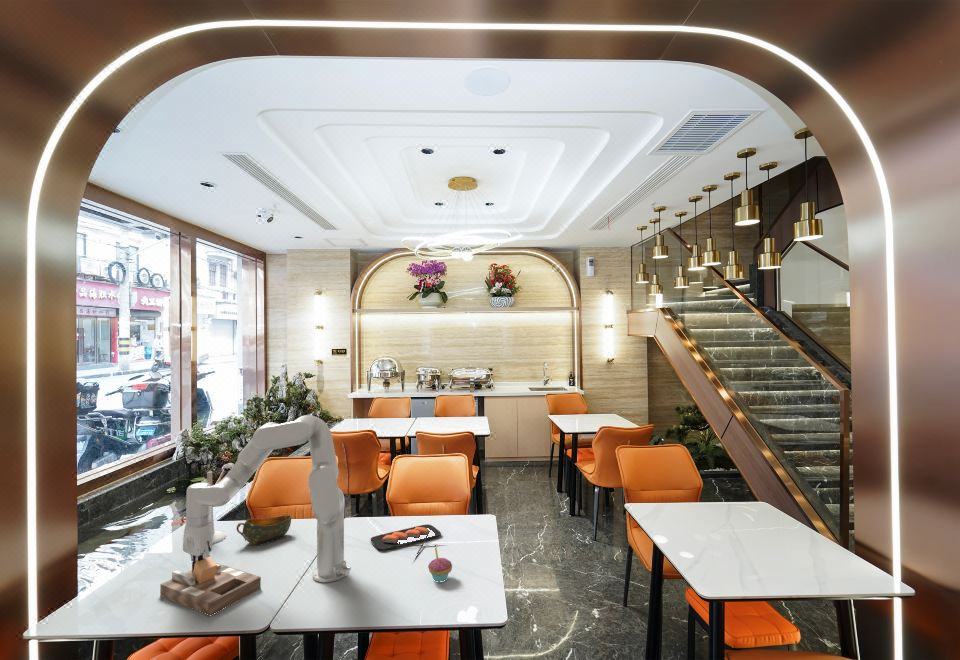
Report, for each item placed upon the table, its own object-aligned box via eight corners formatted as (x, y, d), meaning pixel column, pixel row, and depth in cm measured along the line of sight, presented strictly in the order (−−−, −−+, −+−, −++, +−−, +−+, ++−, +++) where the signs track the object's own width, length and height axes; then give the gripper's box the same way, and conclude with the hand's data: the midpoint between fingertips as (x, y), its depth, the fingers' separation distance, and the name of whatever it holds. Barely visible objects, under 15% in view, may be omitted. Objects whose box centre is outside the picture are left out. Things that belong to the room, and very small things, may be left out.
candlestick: (206, 532, 208) (207, 466, 209) (232, 534, 206) (232, 467, 207) (184, 545, 195) (185, 474, 196) (212, 546, 194) (212, 475, 194)
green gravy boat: (245, 535, 204) (245, 512, 204) (292, 532, 208) (292, 510, 208) (234, 548, 191) (235, 524, 192) (285, 545, 195) (285, 521, 195)
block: (214, 577, 160) (217, 564, 159) (199, 583, 156) (202, 571, 155) (207, 569, 162) (209, 556, 162) (192, 575, 158) (194, 562, 157)
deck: (260, 588, 160) (260, 569, 160) (210, 616, 144) (210, 595, 144) (211, 572, 172) (211, 554, 172) (160, 596, 156) (160, 576, 156)
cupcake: (424, 583, 162) (424, 549, 162) (434, 571, 170) (434, 539, 170) (446, 587, 159) (446, 552, 159) (456, 575, 167) (455, 542, 167)
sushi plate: (429, 527, 213) (429, 519, 213) (460, 552, 187) (460, 542, 187) (368, 541, 198) (368, 533, 198) (392, 571, 172) (392, 560, 172)
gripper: (175, 519, 161) (174, 572, 161) (201, 527, 155) (200, 582, 154) (196, 512, 168) (195, 563, 168) (222, 519, 161) (221, 572, 161)
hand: (197, 572), depth 161 cm, fingers closed
